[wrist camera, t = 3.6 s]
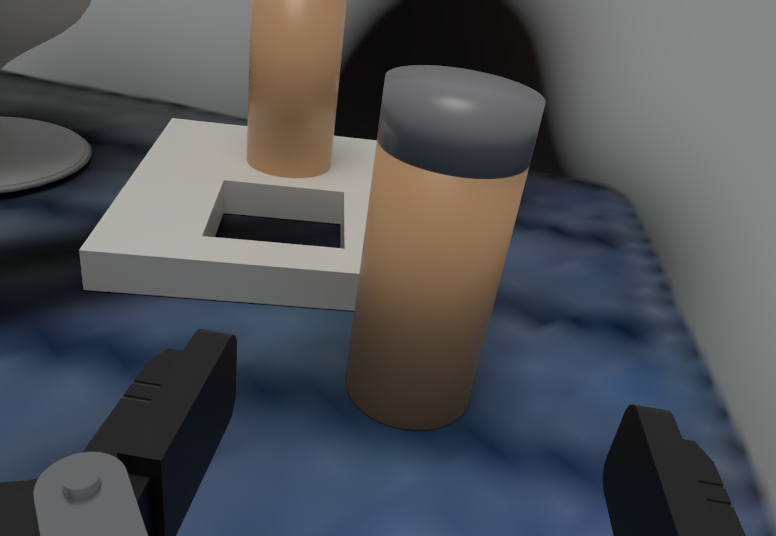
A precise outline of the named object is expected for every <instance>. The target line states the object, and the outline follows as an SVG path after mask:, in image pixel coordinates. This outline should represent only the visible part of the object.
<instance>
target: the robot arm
mask: <svg viewBox="0 0 776 536" xmlns="http://www.w3.org/2000/svg"><path fill="white" fill-rule="evenodd" d="M236 360H237V340H236V336H235V335H232V334H226V333H220V332H215V331H209V330H203V329H198V330H197V331H196V332H195V334H194V335H193V337H192V338H191V340H190V341H189V343H188V344H187V346H186V347H185V349H184V350H183V351H178V350H172V349H167V350H165V351H164V352H162V353H161V354H159V355H158V356H156V357H155V358H153V359H151V360H150V361H148V362H147V363H146V364H145V366H144V367H143V369H142V370H141V371H140V373H139V374H138V376H137V377H136V378H135V380H134V384H131V385H130V387H129V388H128V390H127V391H126V392H125V394H124V397H123V398H121V399H120V401H119V402H118V404H117V405H116V406H115V408H114V409H113V411H112V412H111V413H110V415H109V416H108V418H107V419H106V420H105V422H104V423H103V425H102V426H101V427H100V429H99V430H98V432H97V433H96V434H95V436H94V437H93V439H92V440H91V441H90V443H89V444H88V446H87V447H86V448H85V450H84V451H83V452H82V453H78V454H74V455H71V456H68V457H65V458H63V459H61V460H59V461H57V462H55V463H54V464H52V465H51V466H50V467H48V468H47V469H46V470H45V471H44V472H43V473H42V474H41V476H40V477H39V478H37V479H33V480H26V481H15V482H3V483H0V536H176V535H177V532H178V530H179V528H180V526H181V524H182V522H183V520H184V518H185V515H186V513H187V511H188V509H189V507H190V505H191V503H192V501H193V498H194V496H195V494H196V492H197V490H198V488H199V486H200V484H201V481H202V479H203V477H204V475H205V473H206V471H207V469H208V467H209V464H210V462H211V460H212V458H213V456H214V454H215V452H216V450H217V448H218V445H219V443H220V441H221V439H222V437H223V435H224V433H225V431H226V428H227V426H228V424H229V422H230V419H231V416H232V412H233V408H234V404H235V397H236ZM603 490H604V495H605V499H606V504H607V508H608V513H609V517H610V521H611V526H612V530H613V535H614V536H746V535H745V533H744V531H743V528H742V526H741V524H740V522H739V519H738V517H737V515H736V512H735V510H734V508H733V507H731V501H730V499H729V496H728V494H727V492H726V489H723V483H722V480H721V478H720V476H719V473H718V471H717V469H716V467H715V464H714V462H713V461H712V460H711V459H710V458H709V457H708V456H707V454H706V453H705V452H704V451H703V450H702V449H701V448H700V447H699V446H698V444H697V443H696V442H695V441H690V440H684V439H682V436H681V434H680V431H679V429H678V426H677V424H676V421H675V419H674V416H673V414H672V413H671V412H670V411H667V410H662V409H656V408H650V407H644V406H638V405H629V406H628V407H627V409H626V410H625V413H624V415H623V418H622V420H621V423H620V425H619V428H618V430H617V433H616V435H615V438H614V440H613V443H612V445H611V448H610V450H609V453H608V455H607V458H606V461H605V465H604V471H603Z"/></svg>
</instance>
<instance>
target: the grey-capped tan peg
mask: <svg viewBox="0 0 776 536" xmlns="http://www.w3.org/2000/svg"><path fill="white" fill-rule="evenodd" d="M544 106H545V99H544V98H543V96H542V95H541V94H539V93H538V92H536V91H535V90H533V89H531V88H529V87H527V86H525V85H523V84H520V83H518V82H515V81H512V80H509V79H506V78H503V77H499V76H496V75H492V74H487V73H483V72H478V71H473V70H468V69H461V68H454V67H445V66H430V65H413V66H403V67H398V68H394V69H392V70H390V71H388V72H387V73H386V75H385V83H384V90H383V98H382V106H381V113H380V121H379V128H378V136H377V143H376V151H375V158H374V166H373V174H372V181H371V189H370V196H369V204H368V212H367V219H366V227H365V234H364V242H363V250H362V257H361V265H360V272H359V280H358V288H357V295H356V303H355V310H354V318H353V325H352V333H351V341H350V348H349V356H348V363H347V371H346V380H345V383H346V389H347V392H348V394H349V396H350V398H351V400H352V401H353V402H354V404H355V405H356V406H357V407H358V408H359V409H360V410H361V411H363V412H364V413H365V414H367V415H368V416H370V417H371V418H373V419H375V420H377V421H379V422H381V423H383V424H386V425H389V426H392V427H396V428H400V429H406V430H431V429H436V428H440V427H443V426H446V425H448V424H450V423H452V422H454V421H455V420H457V419H458V418H459V417H460V416H461V415H462V414H463V413H464V412H465V410H466V408H467V406H468V403H469V399H470V395H471V392H472V388H473V384H474V380H475V376H476V372H477V368H478V364H479V360H480V356H481V352H482V349H483V345H484V341H485V337H486V333H487V329H488V325H489V321H490V317H491V313H492V309H493V306H494V302H495V298H496V294H497V290H498V286H499V282H500V278H501V274H502V270H503V267H504V263H505V259H506V255H507V251H508V247H509V243H510V239H511V235H512V231H513V227H514V224H515V220H516V216H517V212H518V208H519V204H520V200H521V196H522V192H523V188H524V184H525V181H526V177H527V173H528V169H529V165H530V161H531V157H532V153H533V149H534V145H535V141H536V137H537V134H538V130H539V126H540V122H541V118H542V114H543V110H544Z"/></svg>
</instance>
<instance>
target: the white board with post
mask: <svg viewBox="0 0 776 536" xmlns="http://www.w3.org/2000/svg"><path fill="white" fill-rule="evenodd" d="M346 3H347V0H251V29H250V31H251V32H250V65H249V96H248V126H239V125H229V124H220V123H211V122H202V121H193V120H184V119H174V118H172V119H171V121H170V122H169V124H168V125H167V126H166V128H165V129H164V131H163V132H162V133H161V135H160V136H159V138H158V139H157V141H156V142H155V143H154V145H153V146H152V148H151V149H150V151H149V152H148V153H147V155H146V156H145V158H144V159H143V160H142V162H141V163H140V165H139V166H138V168H137V169H136V170H135V172H134V173H133V175H132V176H131V177H130V179H129V180H128V182H127V183H126V185H125V186H124V187H123V189H122V190H121V192H120V193H119V194H118V196H117V197H116V199H115V200H114V202H113V203H112V204H111V206H110V207H109V209H108V210H107V211H106V213H105V214H104V216H103V217H102V219H101V220H100V221H99V223H98V224H97V226H96V227H95V228H94V230H93V231H92V233H91V234H90V236H89V237H88V238H87V240H86V241H85V243H84V244H83V245H82V247H81V248H80V250H79V253H80V262H81V271H82V280H83V289H84V290H92V291H105V292H118V293H131V294H144V295H156V296H169V297H182V298H195V299H208V300H221V301H234V302H247V303H259V304H272V305H285V306H298V307H311V308H324V309H337V310H350V311H354V310H355V303H356V295H357V288H358V280H359V272H360V265H361V257H362V250H363V242H364V234H365V227H366V219H367V212H368V204H369V196H370V189H371V181H372V174H373V166H374V158H375V151H376V143H377V141H376V140H366V139H358V138H348V137H339V136H334V126H335V115H336V106H337V95H338V85H339V74H340V64H341V55H342V44H343V34H344V24H345V13H346ZM223 213H228V214H239V215H249V216H260V217H271V218H282V219H292V220H303V221H314V222H324V223H335V224H341V248H330V247H319V246H307V245H296V244H285V243H274V242H262V241H251V240H240V239H229V238H217V237H215V235H216V232H217V230H218V227H219V224H220V221H221V218H222V215H223Z"/></svg>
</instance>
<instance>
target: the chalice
mask: <svg viewBox="0 0 776 536" xmlns="http://www.w3.org/2000/svg"><path fill="white" fill-rule="evenodd" d="M90 2H91V0H0V70H1V69H2V68H3V67H4V66H5V65H6V64H7V63H8V62H10V61H11V60H13V59H14V58H16V57H17V56H19V55H21V54H22V53H24V52H26V51H28V50H30V49H31V48H33V47H36V46H38V45H40V44H42V43H43V42H46V41H47V40H49V39H51V38H53V37H55V36H57V35H59V34H61V33H62V32H64V31H65V30H66V29H68V28H69V27H70V26H72V25H73V24H75V23H76V22H77V21H78V20H79V19H80V18H81V16H82V15H83V14H84V12H85V11H86V9H87V8H88V6H89V5H90ZM91 155H92V150H91V146H90V145H89V143H88V142H87V141H86V140H85V139H84V138H82V137H81V136H80V135H78V134H76V133H75V132H73V131H72V130H70V129H67V128H64V127H62V126H59V125H56V124H52V123H48V122H44V121H39V120H33V119H26V118H18V117H3V116H0V193H6V192H14V191H19V190H24V189H28V188H33V187H38V186H42V185H45V184H48V183H51V182H54V181H57V180H60V179H63V178H65V177H67V176H69V175H71V174H73V173H75V172H77V171H78V170H80V169H81V168H82V167H83V166H84V165H86V164H87V163H88V161H89V159H90V157H91Z"/></svg>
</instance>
